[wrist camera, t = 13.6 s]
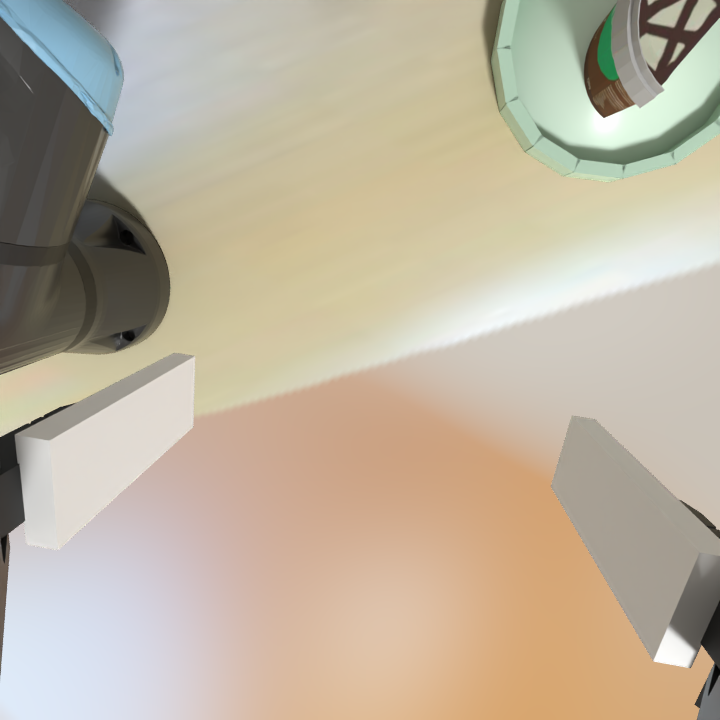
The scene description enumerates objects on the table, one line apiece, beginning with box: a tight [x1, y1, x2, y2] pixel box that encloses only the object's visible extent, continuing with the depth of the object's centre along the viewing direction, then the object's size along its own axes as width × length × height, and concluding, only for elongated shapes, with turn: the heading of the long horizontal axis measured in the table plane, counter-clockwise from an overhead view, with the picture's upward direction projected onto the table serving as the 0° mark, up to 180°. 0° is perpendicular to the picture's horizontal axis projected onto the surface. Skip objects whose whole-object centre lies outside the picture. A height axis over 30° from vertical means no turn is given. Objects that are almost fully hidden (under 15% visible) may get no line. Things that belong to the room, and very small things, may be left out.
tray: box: [491, 0, 720, 182], centre depth 34 cm, size 20×20×2 cm
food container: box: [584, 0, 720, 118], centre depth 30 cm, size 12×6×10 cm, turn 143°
